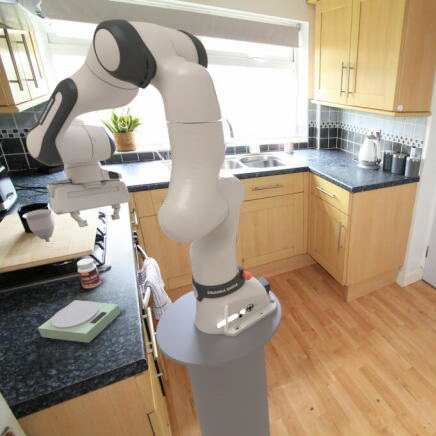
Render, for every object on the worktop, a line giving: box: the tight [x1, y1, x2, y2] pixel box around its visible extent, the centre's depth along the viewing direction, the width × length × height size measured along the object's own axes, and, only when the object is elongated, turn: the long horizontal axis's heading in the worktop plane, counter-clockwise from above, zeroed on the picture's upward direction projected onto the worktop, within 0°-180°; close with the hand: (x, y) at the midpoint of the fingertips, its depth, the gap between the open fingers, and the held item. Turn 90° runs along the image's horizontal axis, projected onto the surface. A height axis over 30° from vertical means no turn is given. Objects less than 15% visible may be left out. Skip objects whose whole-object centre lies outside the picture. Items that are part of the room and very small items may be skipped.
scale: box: [37, 299, 121, 344], centre depth 84 cm, size 11×13×4 cm
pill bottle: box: [76, 257, 102, 289], centre depth 98 cm, size 5×5×8 cm
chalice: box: [22, 209, 55, 243], centre depth 108 cm, size 7×7×18 cm
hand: (100, 223), depth 95 cm, fingers open, 8 cm apart
